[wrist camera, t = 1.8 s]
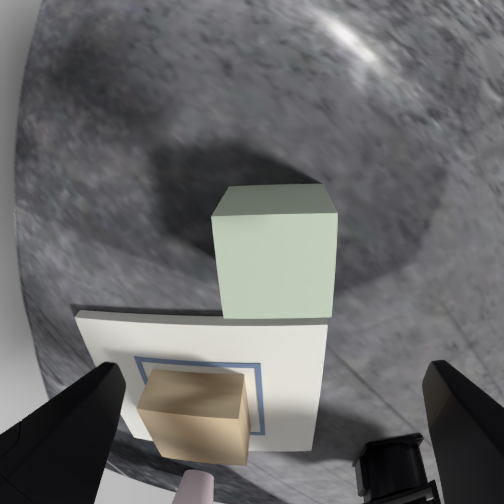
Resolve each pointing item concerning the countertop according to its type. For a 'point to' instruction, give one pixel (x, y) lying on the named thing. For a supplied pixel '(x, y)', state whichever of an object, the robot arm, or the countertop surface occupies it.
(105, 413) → the robot arm
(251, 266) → the sage block
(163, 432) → the maple block
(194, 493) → the smoothie
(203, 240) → the countertop surface
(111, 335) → the white mat
